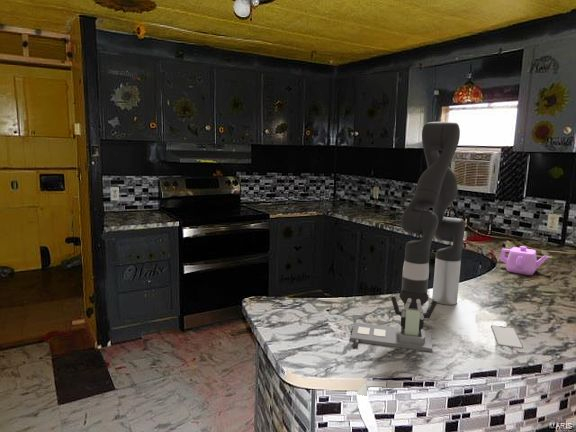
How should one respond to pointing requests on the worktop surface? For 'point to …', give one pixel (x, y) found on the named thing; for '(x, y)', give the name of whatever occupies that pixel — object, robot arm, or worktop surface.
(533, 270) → the teakettle
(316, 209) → the worktop surface
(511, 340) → the smartphone
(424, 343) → the power strip
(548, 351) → the worktop surface
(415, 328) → the block
